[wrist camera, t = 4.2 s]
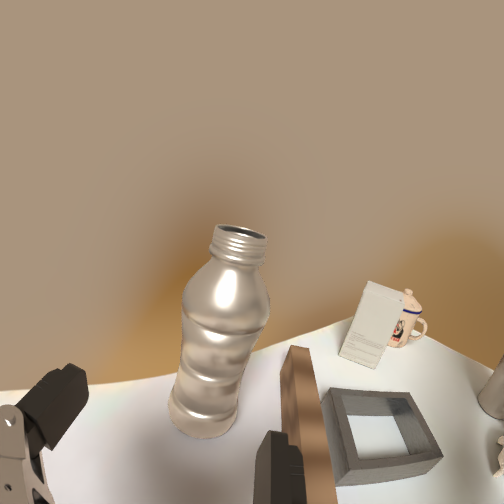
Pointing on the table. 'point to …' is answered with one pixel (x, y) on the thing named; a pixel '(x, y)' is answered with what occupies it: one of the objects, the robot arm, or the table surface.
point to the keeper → (376, 404)
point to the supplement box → (372, 324)
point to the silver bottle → (219, 332)
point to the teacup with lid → (407, 321)
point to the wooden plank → (306, 424)
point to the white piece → (500, 458)
